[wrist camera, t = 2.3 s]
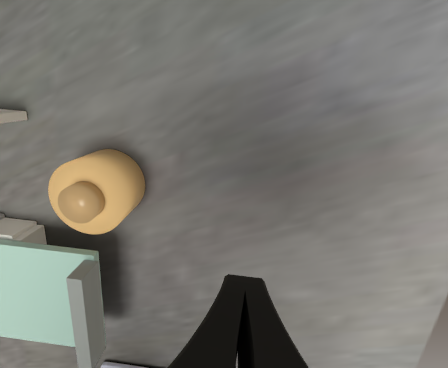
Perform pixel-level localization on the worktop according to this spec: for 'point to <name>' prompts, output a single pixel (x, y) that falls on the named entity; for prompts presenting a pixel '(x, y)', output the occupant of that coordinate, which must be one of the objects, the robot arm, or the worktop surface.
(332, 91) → the worktop surface
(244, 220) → the worktop surface
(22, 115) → the housing
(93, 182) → the domed oval button
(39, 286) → the lid
